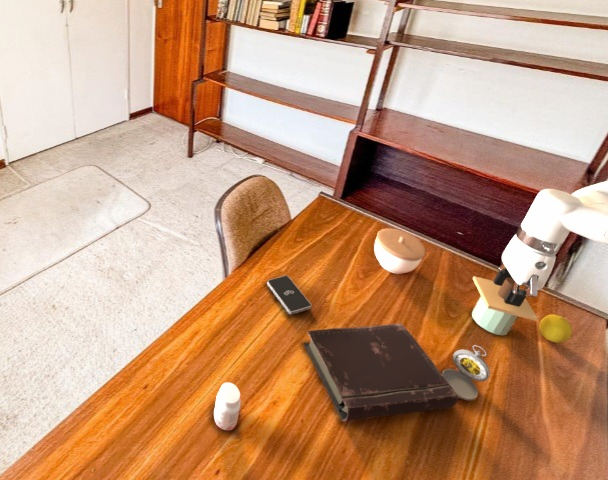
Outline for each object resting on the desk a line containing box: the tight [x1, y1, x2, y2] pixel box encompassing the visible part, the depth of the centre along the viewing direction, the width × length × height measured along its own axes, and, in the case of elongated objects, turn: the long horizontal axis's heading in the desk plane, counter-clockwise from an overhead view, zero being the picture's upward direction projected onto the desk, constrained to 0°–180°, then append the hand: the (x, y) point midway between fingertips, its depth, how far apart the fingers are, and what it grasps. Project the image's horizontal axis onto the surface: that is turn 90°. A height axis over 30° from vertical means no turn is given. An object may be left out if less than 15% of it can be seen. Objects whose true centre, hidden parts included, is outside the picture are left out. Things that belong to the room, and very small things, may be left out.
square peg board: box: [472, 275, 539, 322], centre depth 99 cm, size 10×10×6 cm
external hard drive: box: [266, 275, 312, 317], centre depth 108 cm, size 7×11×2 cm, turn 19°
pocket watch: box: [441, 344, 491, 401], centre depth 87 cm, size 8×8×10 cm
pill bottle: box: [213, 382, 242, 431], centre depth 79 cm, size 5×5×8 cm
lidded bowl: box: [373, 227, 426, 275], centre depth 119 cm, size 13×13×11 cm
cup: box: [471, 295, 519, 336], centre depth 102 cm, size 8×8×8 cm
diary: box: [302, 323, 459, 422], centre depth 89 cm, size 19×25×5 cm
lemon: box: [538, 314, 573, 344], centre depth 98 cm, size 6×6×8 cm
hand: (506, 293), depth 100 cm, fingers open, 5 cm apart
